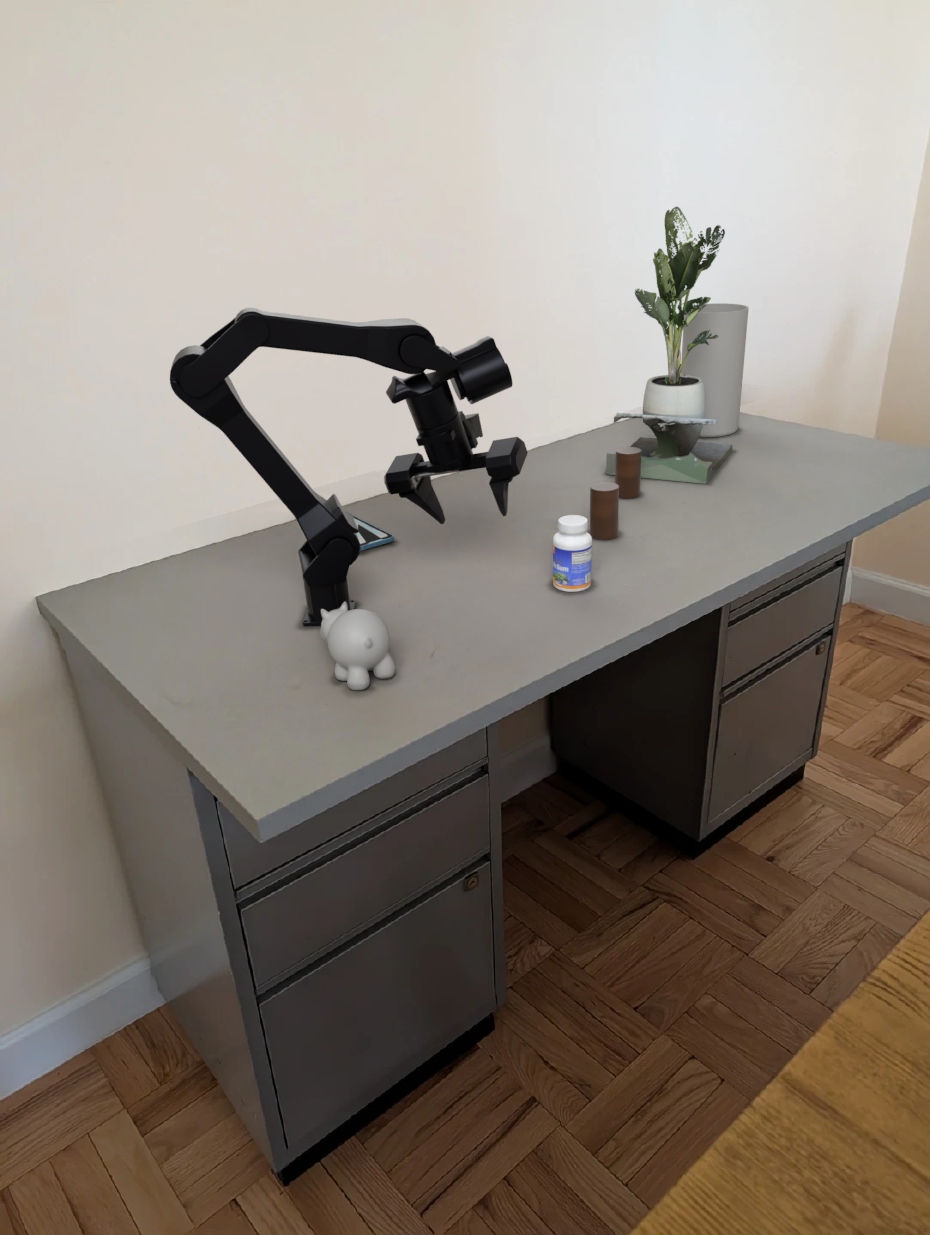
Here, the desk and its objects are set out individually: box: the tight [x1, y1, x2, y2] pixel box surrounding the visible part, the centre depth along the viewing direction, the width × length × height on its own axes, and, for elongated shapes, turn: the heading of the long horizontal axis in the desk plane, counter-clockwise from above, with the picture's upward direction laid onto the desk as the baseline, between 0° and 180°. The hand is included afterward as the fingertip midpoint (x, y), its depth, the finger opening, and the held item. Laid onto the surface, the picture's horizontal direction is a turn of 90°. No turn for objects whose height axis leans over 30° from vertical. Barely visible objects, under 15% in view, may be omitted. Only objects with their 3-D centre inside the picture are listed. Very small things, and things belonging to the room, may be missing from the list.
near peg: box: [589, 481, 620, 541], centre depth 140 cm, size 4×4×8 cm
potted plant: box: [605, 206, 733, 485], centre depth 163 cm, size 22×19×45 cm
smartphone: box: [352, 514, 395, 552], centre depth 147 cm, size 7×1×15 cm
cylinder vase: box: [680, 303, 749, 438], centre depth 186 cm, size 12×12×25 cm
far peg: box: [614, 446, 641, 500], centre depth 156 cm, size 4×4×8 cm
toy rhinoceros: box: [319, 601, 396, 691], centre depth 105 cm, size 7×12×8 cm, turn 35°
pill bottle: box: [552, 514, 593, 593], centre depth 123 cm, size 5×5×10 cm
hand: (473, 518), depth 122 cm, fingers open, 9 cm apart
